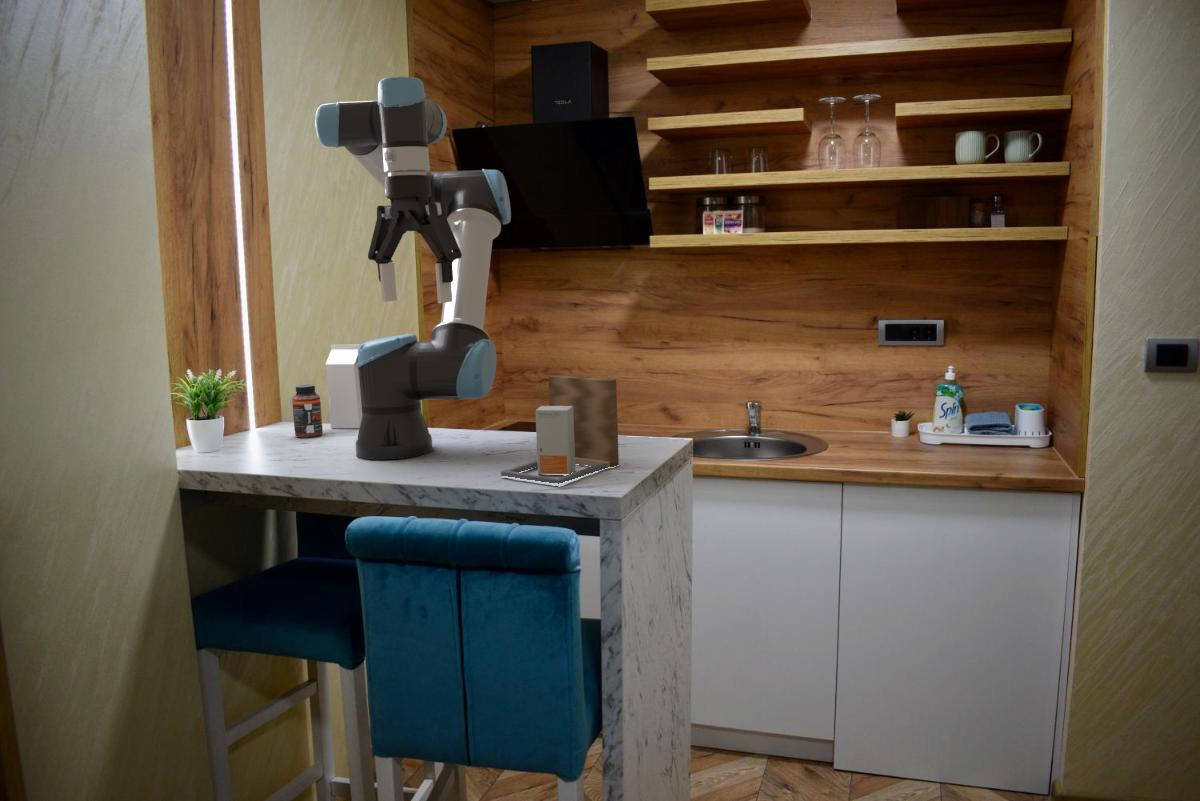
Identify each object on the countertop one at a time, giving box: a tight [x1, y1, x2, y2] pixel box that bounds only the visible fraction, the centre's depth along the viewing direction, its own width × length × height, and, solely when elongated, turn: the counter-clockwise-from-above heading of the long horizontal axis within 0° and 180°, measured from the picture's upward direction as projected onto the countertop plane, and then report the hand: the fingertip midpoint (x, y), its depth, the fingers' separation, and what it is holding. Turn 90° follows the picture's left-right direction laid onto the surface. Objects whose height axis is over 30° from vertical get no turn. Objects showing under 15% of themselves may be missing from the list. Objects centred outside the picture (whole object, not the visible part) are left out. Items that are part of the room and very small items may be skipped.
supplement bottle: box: [291, 384, 324, 439], centre depth 206 cm, size 6×6×11 cm
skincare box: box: [535, 405, 576, 475], centre depth 165 cm, size 6×4×12 cm
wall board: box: [547, 374, 620, 467], centre depth 172 cm, size 14×2×16 cm, turn 54°
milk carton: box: [325, 343, 362, 429], centre depth 215 cm, size 7×7×19 cm
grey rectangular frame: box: [500, 457, 610, 484], centre depth 167 cm, size 13×15×1 cm
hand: (416, 301), depth 160 cm, fingers open, 13 cm apart
